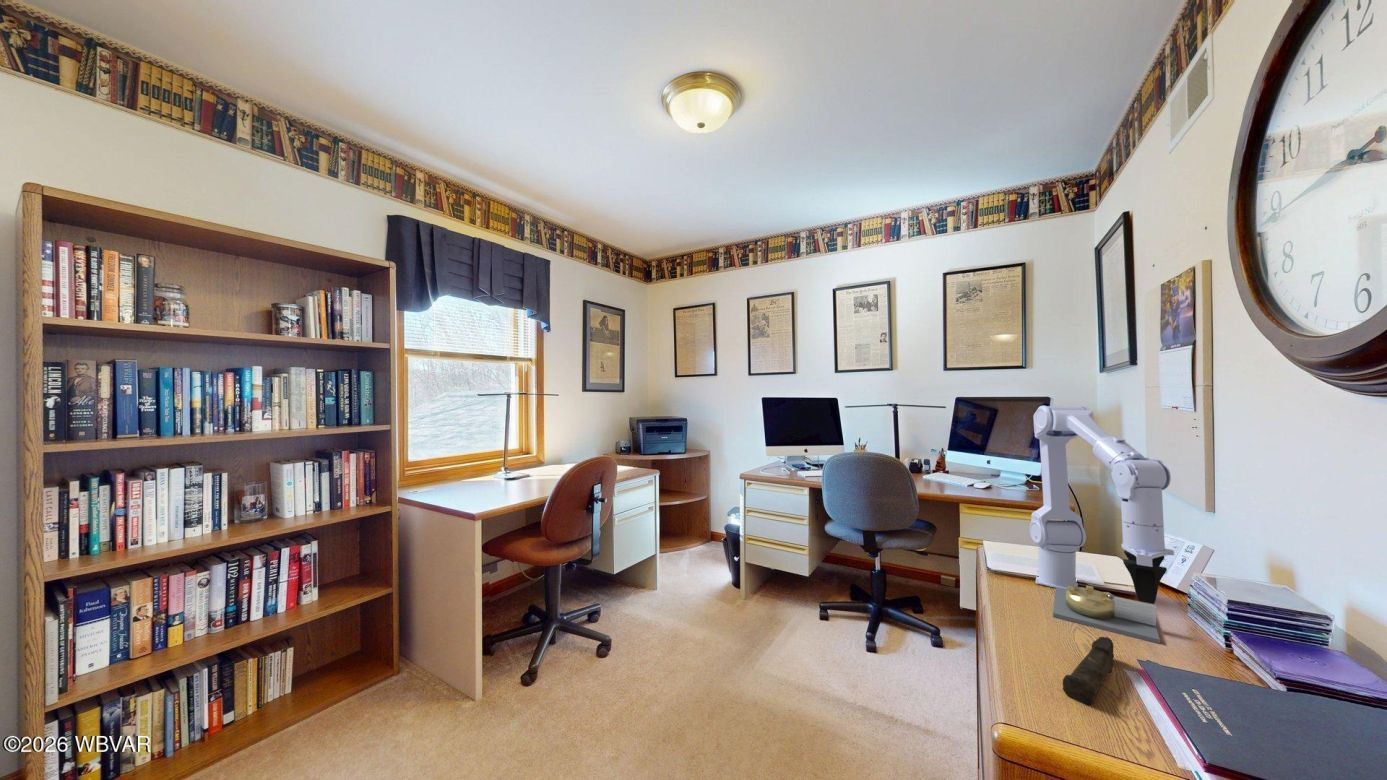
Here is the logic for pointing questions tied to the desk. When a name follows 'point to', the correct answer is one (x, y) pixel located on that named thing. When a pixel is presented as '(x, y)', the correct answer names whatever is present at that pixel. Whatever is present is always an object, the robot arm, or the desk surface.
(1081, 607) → the gold rounded piece
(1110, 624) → the base plate
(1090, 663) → the dark brown statuette
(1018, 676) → the desk surface
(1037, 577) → the robot arm
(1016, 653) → the desk surface
